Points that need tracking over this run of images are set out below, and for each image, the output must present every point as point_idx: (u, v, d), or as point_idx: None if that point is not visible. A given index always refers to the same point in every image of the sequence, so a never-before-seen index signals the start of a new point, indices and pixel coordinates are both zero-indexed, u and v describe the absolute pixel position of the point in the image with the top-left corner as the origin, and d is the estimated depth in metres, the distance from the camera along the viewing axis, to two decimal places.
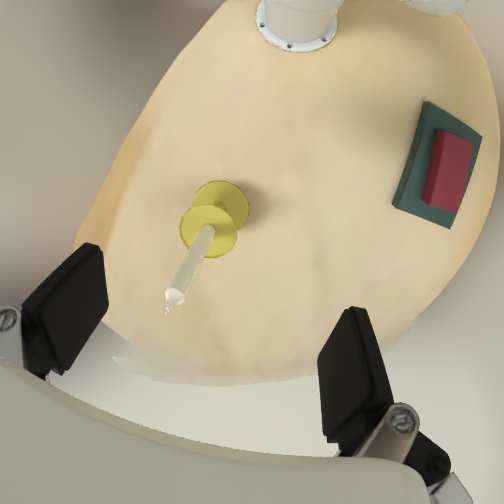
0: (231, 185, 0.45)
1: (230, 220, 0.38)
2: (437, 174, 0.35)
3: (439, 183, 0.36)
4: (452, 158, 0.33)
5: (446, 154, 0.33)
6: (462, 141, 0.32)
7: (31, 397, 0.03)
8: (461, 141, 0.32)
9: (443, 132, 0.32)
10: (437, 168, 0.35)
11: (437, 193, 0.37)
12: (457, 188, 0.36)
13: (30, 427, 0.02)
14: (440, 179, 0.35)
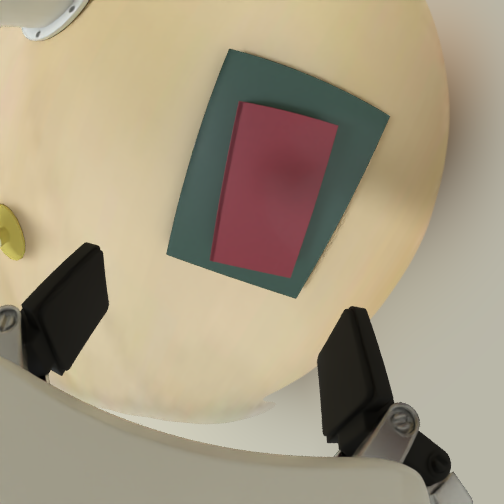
0: (6, 209, 0.27)
1: None
2: (222, 199, 0.20)
3: (229, 218, 0.21)
4: (264, 162, 0.19)
5: (246, 153, 0.18)
6: (298, 120, 0.17)
7: (31, 397, 0.03)
8: (295, 120, 0.17)
9: None
10: None
11: (227, 238, 0.22)
12: (285, 229, 0.21)
13: (30, 427, 0.02)
14: (231, 210, 0.21)
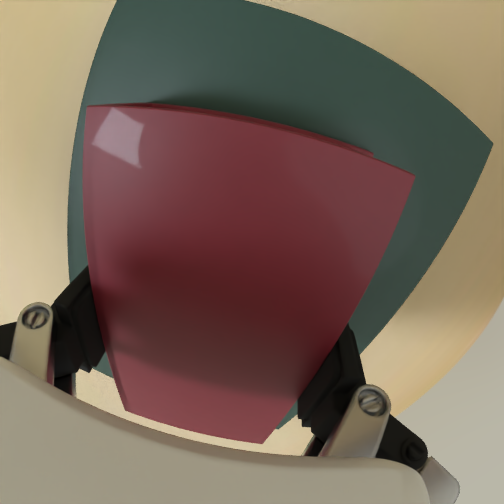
0: None
1: None
2: (108, 345, 0.08)
3: (133, 375, 0.09)
4: (177, 287, 0.06)
5: (126, 261, 0.06)
6: (280, 154, 0.05)
7: (31, 397, 0.03)
8: (266, 155, 0.05)
9: None
10: None
11: (140, 396, 0.10)
12: (248, 403, 0.09)
13: (30, 427, 0.02)
14: (131, 364, 0.08)
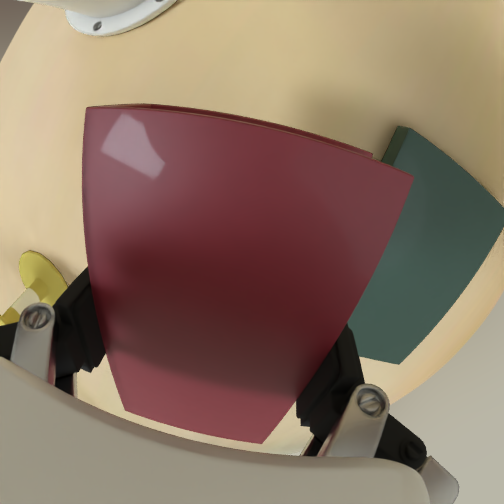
0: (44, 260, 0.25)
1: None
2: (108, 345, 0.08)
3: (133, 375, 0.09)
4: (176, 288, 0.06)
5: (126, 262, 0.06)
6: (278, 156, 0.05)
7: (31, 397, 0.03)
8: (264, 157, 0.05)
9: None
10: None
11: (140, 396, 0.10)
12: (248, 403, 0.09)
13: (30, 427, 0.02)
14: (131, 364, 0.08)
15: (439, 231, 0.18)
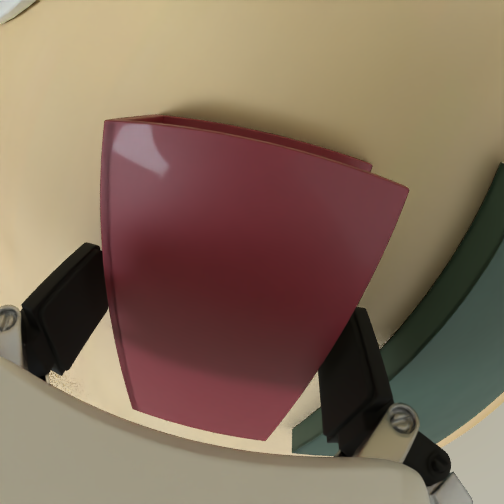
0: None
1: None
2: (120, 345, 0.09)
3: (143, 373, 0.09)
4: (190, 290, 0.07)
5: (142, 266, 0.07)
6: (286, 171, 0.05)
7: (31, 397, 0.03)
8: (273, 172, 0.05)
9: None
10: None
11: (149, 395, 0.10)
12: (253, 400, 0.09)
13: (30, 427, 0.02)
14: (142, 363, 0.09)
15: None
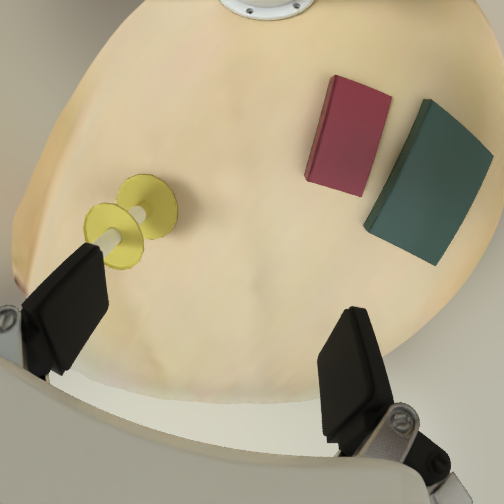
0: (158, 180, 0.34)
1: (136, 226, 0.28)
2: (321, 135, 0.27)
3: (325, 149, 0.28)
4: (349, 114, 0.26)
5: (339, 107, 0.26)
6: (370, 91, 0.24)
7: (31, 397, 0.03)
8: (367, 91, 0.24)
9: (334, 77, 0.24)
10: (321, 127, 0.27)
11: (321, 163, 0.29)
12: (360, 159, 0.28)
13: (30, 427, 0.02)
14: (326, 143, 0.28)
15: (451, 159, 0.27)
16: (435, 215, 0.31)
